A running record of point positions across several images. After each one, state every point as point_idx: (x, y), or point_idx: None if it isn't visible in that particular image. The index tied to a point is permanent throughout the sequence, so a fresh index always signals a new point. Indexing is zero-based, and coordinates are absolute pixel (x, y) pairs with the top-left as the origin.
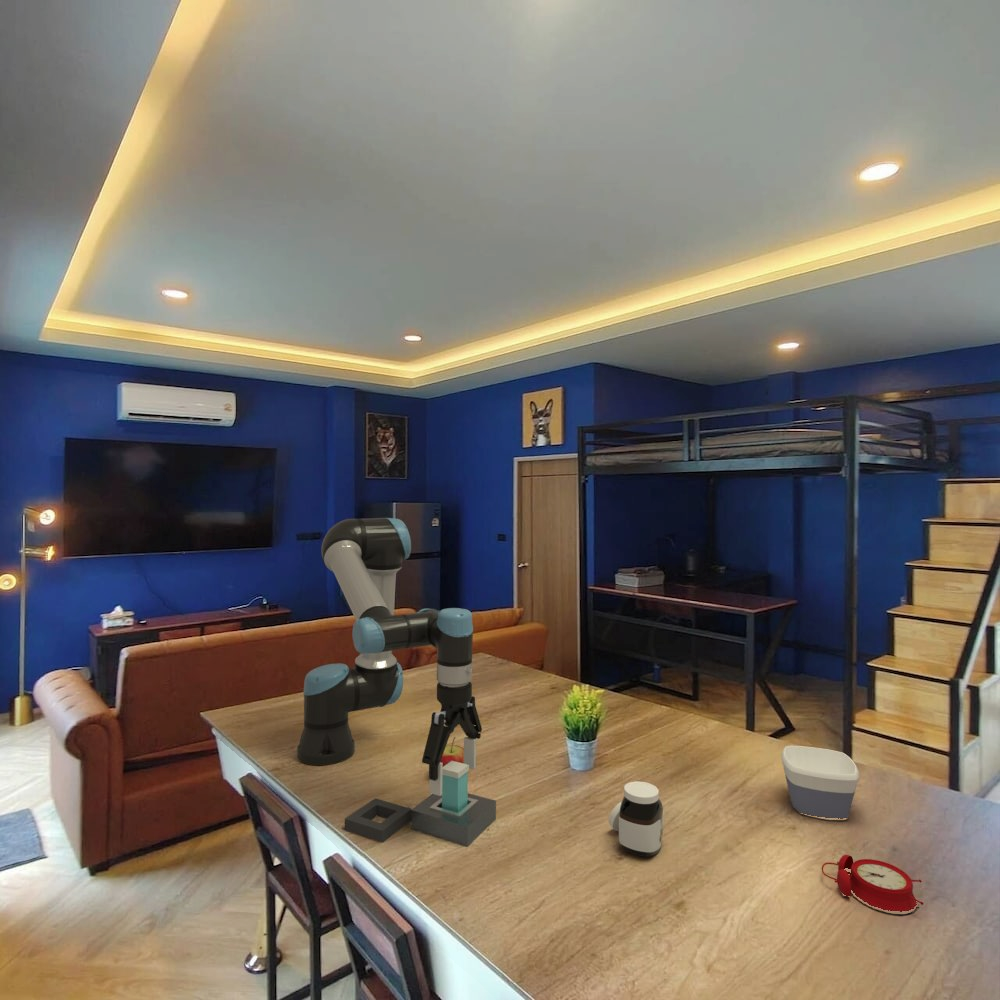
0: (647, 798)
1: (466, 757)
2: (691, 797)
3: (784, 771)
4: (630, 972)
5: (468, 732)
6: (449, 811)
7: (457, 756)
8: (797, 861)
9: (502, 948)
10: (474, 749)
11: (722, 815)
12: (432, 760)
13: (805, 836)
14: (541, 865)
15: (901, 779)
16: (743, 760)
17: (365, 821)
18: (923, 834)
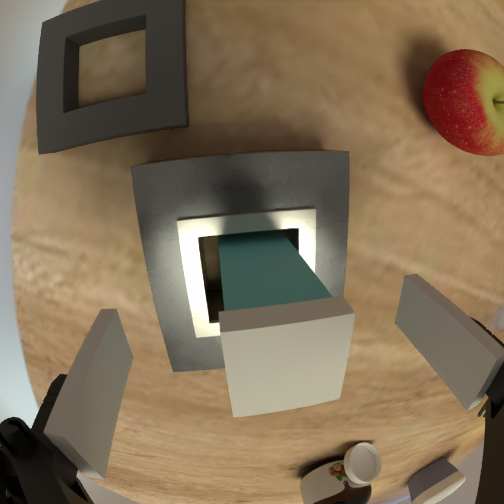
0: None
1: (427, 314)
2: (439, 432)
3: (443, 480)
4: (138, 496)
5: (499, 423)
6: (198, 297)
7: (488, 136)
8: None
9: None
10: (444, 378)
11: (408, 459)
12: (13, 496)
13: (384, 488)
14: (217, 438)
15: (461, 461)
16: None
17: (50, 72)
18: (398, 496)
